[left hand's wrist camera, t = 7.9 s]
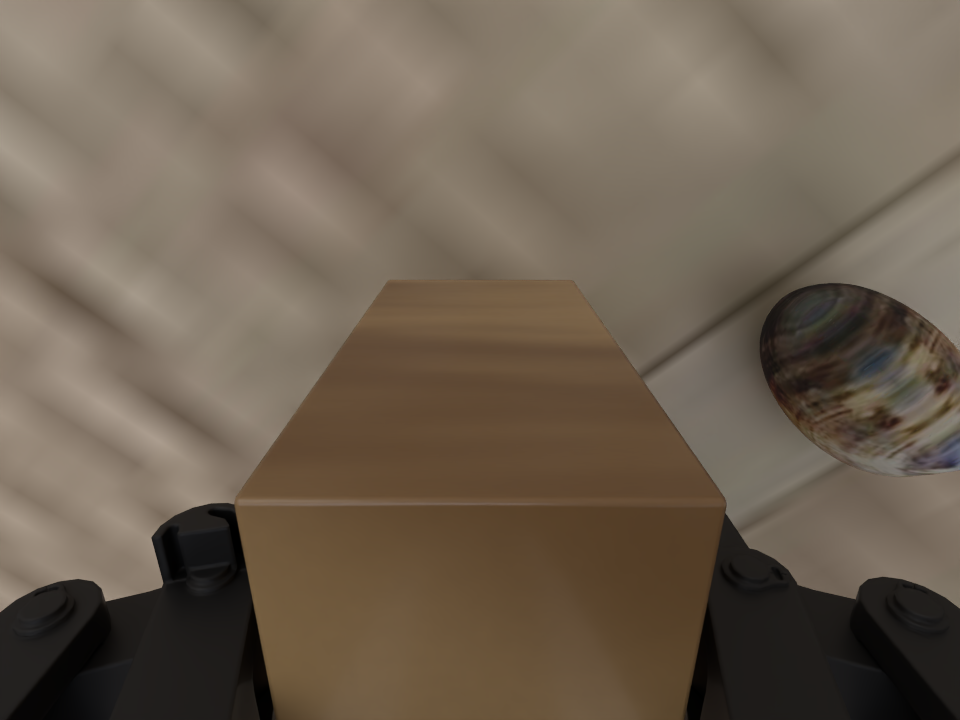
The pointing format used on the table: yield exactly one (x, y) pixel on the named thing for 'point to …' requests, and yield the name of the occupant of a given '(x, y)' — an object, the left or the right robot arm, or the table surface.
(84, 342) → the table surface
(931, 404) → the seashell
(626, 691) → the bar
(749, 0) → the table surface
